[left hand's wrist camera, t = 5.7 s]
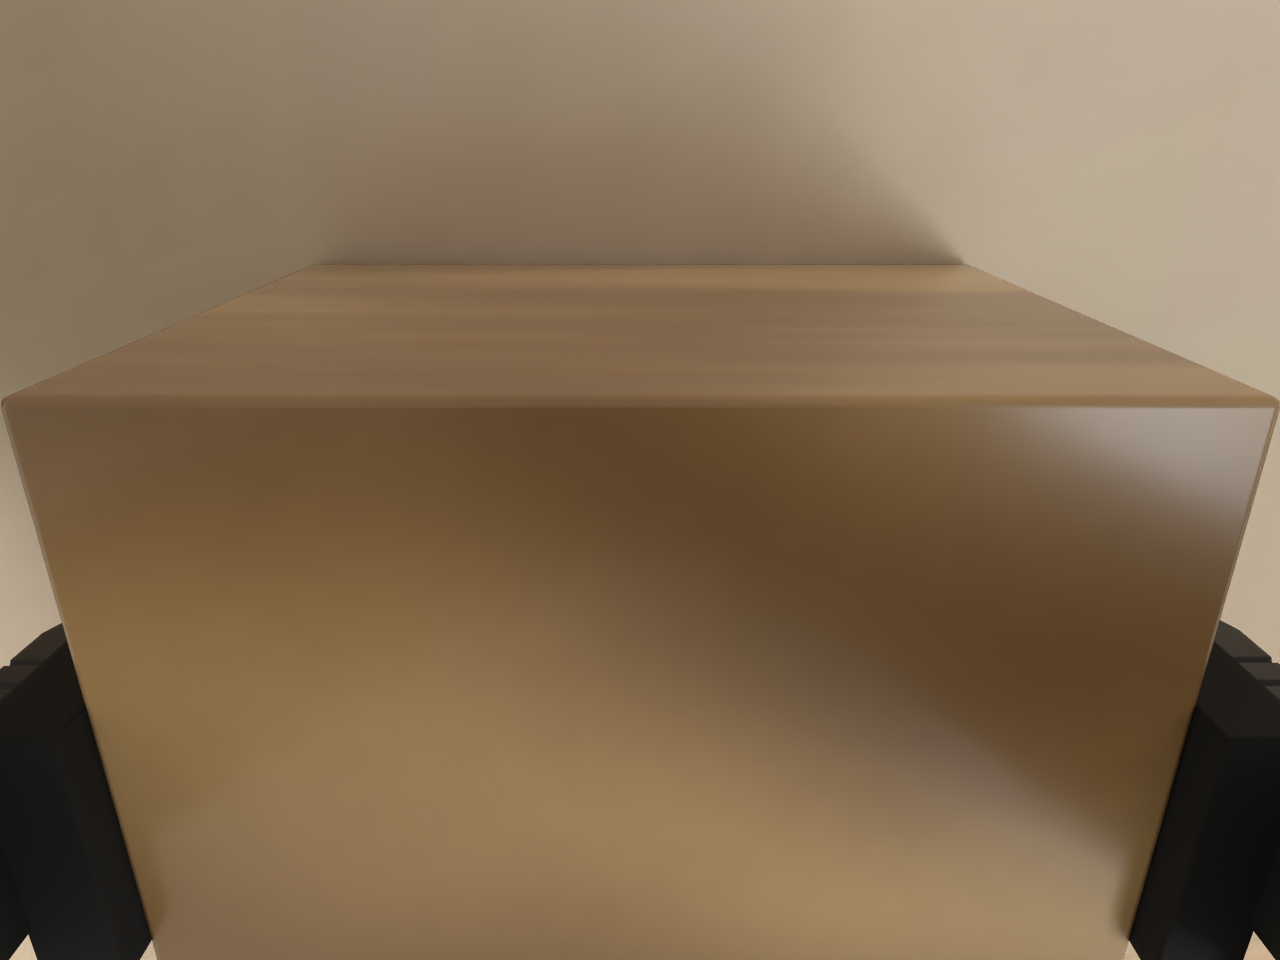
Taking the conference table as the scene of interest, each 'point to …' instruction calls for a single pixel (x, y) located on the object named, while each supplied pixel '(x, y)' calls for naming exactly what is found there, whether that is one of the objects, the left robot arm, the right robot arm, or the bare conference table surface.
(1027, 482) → the slab
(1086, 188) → the conference table surface
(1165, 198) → the conference table surface
